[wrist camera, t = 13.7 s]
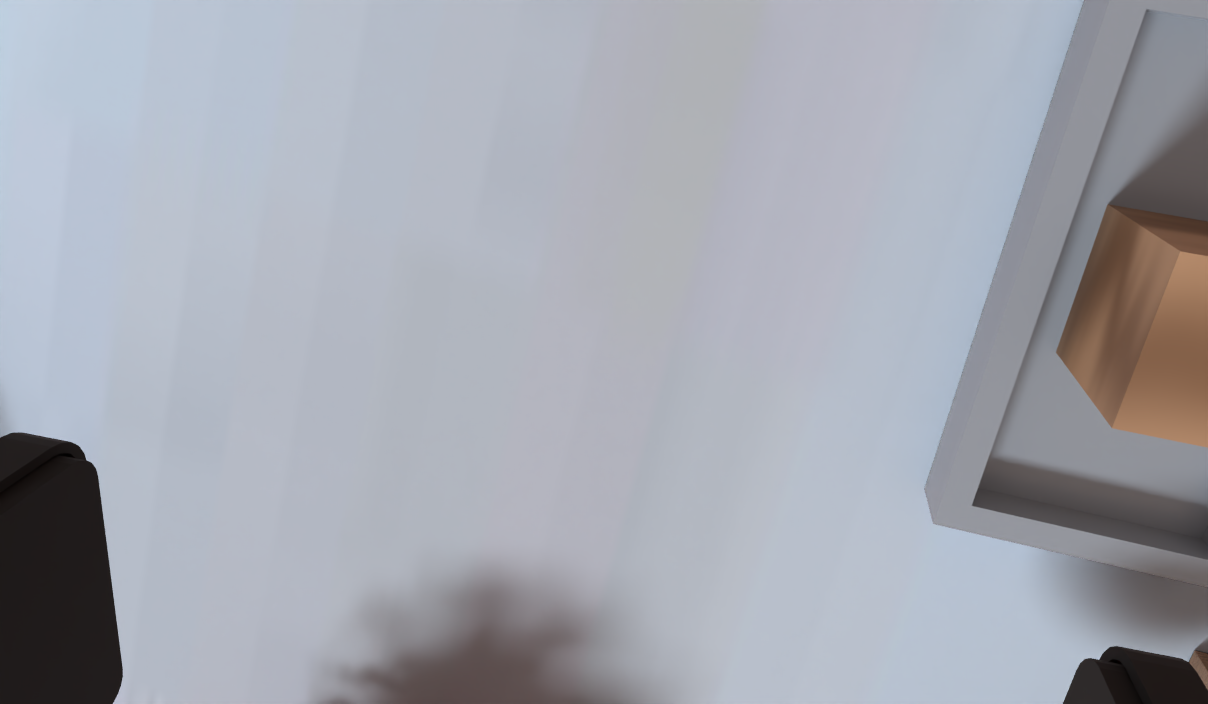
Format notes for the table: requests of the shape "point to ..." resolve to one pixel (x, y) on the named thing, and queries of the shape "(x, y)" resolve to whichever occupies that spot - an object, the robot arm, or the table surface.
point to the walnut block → (1144, 325)
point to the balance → (1200, 665)
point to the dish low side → (1045, 296)
